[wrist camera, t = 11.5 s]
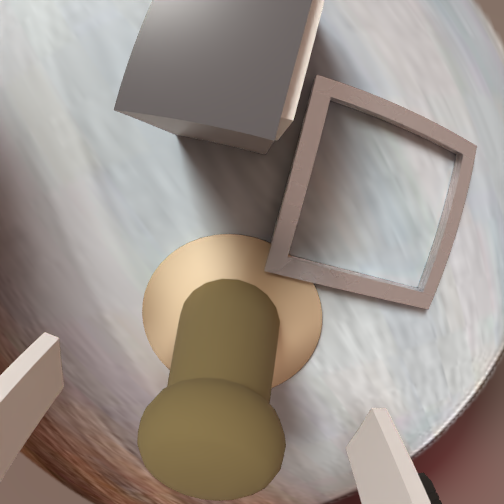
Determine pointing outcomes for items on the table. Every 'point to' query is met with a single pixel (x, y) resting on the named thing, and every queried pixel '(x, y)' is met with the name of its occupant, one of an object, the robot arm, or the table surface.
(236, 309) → the pepper shaker
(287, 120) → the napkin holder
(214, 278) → the tan round coaster
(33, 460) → the table surface
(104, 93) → the table surface
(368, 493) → the robot arm
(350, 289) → the taupe square frame
